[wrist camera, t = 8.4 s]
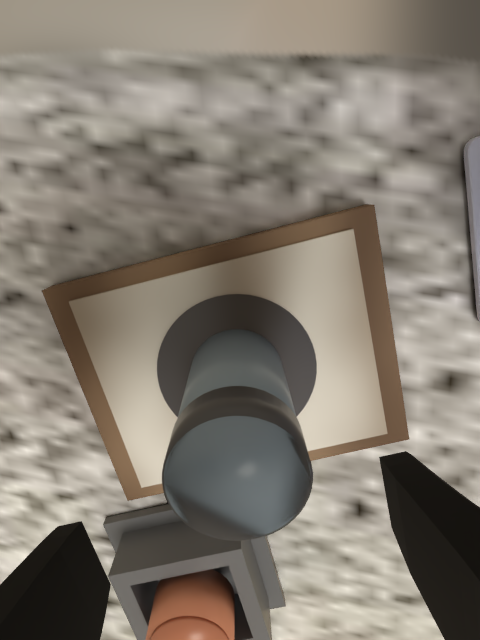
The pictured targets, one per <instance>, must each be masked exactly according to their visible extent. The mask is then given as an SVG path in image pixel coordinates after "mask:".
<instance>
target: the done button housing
mask: <svg viewBox="0 0 480 640" xmlns="http://www.w3.org/2000/svg"><path fill="white" fill-rule="evenodd" d="M103 525H104V528H105V530H106V532H107V535H108V537H109V539H110V541H111V544H112V546H113V548H114V550H115V553H116V555H115V558H114V561H113V564H112V567H111V570H110V573H109V575H108V577H109V579H110V581H111V584H112V586H113V588H114V590H115V592H116V595H117V597H118V599H119V601H120V603H121V605H122V608H123V610H124V612H125V614H126V616H127V619H128V621H129V623H130V625H131V627H132V630H133V632H134V634H135V636H136V638H137V640H146V635H147V630H148V625H149V620H150V615H151V611H152V606H153V601H154V596H155V591H156V588H157V585H158V583H159V582H160V580H161V579H165V578H170V577H175V576H180V575H185V574H190V573H195V572H200V571H205V570H209V569H213V570H215V571H217V572H219V573H220V574H222V575H223V576H224V577H226V578H227V579H228V581H229V582H230V583H231V585H232V587H233V589H234V594H235V631H234V640H272V634H271V622H270V609H274V608H279V607H284V606H286V605H285V597H284V594H283V590H282V587H281V584H280V580H279V577H278V573H277V570H276V567H275V563H274V560H273V556H272V553H271V550H270V546H269V543H268V540H267V536H264V537H261V538H257V539H252V540H243V541H231V540H222V539H217V538H213V537H209V536H207V535H204V534H202V533H200V532H198V531H196V530H194V529H192V528H191V527H189V526H188V525H186V524H185V523H184V522H183V521H182V520H181V519H179V518H178V516H177V515H176V514H175V513H174V512H173V510H172V509H171V507H170V506H169V504H166V505H161V506H156V507H152V508H147V509H142V510H138V511H133V512H129V513H124V514H119V515H115V516H110V517H106V519H105V521H104V524H103Z"/></svg>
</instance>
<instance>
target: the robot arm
mask: <svg viewBox="0 0 480 640" xmlns="http://www.w3.org/2000/svg"><path fill="white" fill-rule="evenodd" d="M464 164H465V176H466V188H467V200H468V212H469V224H470V236H471V248H472V260H473V272H474V284H475V297H476V309H477V318H478V320H479V321H480V136H477V137H474V138H472V139H470V140H469V141H468V142H467V143H466V145H465V148H464ZM379 458H380V464H381V469H382V475H383V481H384V486H385V492H386V497H387V503H388V509H389V514H390V520H391V526H392V529H393V532H394V534H395V537H396V539H397V542H398V544H399V547H400V549H401V552H402V554H403V557H404V559H405V561H406V564H407V566H408V569H409V571H410V574H411V576H412V578H413V579H414V581H415V583H416V585H417V587H418V589H419V591H420V593H421V595H422V597H423V599H424V601H425V603H426V605H427V606H428V608H429V610H430V612H431V614H432V616H433V618H434V620H435V622H436V624H437V626H438V628H439V629H440V631H441V633H442V635H443V637H444V639H445V640H480V507H478V506H477V505H475V504H474V503H473V502H471V501H470V500H468V499H467V498H466V497H464V496H463V495H462V494H460V493H459V492H458V491H456V490H455V489H454V488H453V487H451V486H450V485H449V484H447V483H446V482H445V481H443V480H442V479H441V478H440V477H438V476H437V475H436V474H435V473H433V472H432V471H431V470H430V469H428V468H427V467H426V466H425V465H423V464H422V463H421V462H420V461H418V460H417V459H416V458H415V457H414V456H412V455H411V454H409V453H408V452H401V453H396V454H392V455H387V456H382V457H379ZM110 585H111V584H110V582H109V580H108V578H107V576H106V574H105V571H104V569H103V567H102V565H101V563H100V561H99V558H98V556H97V554H96V552H95V550H94V547H93V545H92V543H91V541H90V539H89V537H88V534H87V532H86V530H85V528H84V526H83V523H82V521H81V522H76V523H72V524H67V525H63V526H58V527H57V528H56V529H55V530H54V531H52V532H51V533H50V534H49V535H48V536H47V537H46V538H45V539H44V540H43V541H42V542H41V543H40V544H39V545H38V546H37V547H36V548H35V549H34V550H33V551H32V552H31V553H30V554H29V555H28V556H27V557H26V559H25V560H24V561H23V562H22V563H21V564H20V565H19V566H18V567H17V568H16V569H15V570H14V571H13V572H12V573H11V574H10V575H9V576H8V577H7V578H6V579H5V580H4V581H3V583H2V584H1V585H0V640H100V637H101V633H102V628H103V623H104V618H105V614H106V608H107V602H108V597H109V591H110Z"/></svg>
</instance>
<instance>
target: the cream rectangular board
mask: <svg viewBox="0 0 480 640" xmlns="http://www.w3.org/2000/svg"><path fill="white" fill-rule="evenodd" d="M42 292H43V295H44V297H45V300H46V302H47V304H48V307H49V309H50V312H51V314H52V317H53V319H54V322H55V324H56V327H57V329H58V331H59V334H60V336H61V339H62V341H63V344H64V346H65V349H66V351H67V353H68V356H69V358H70V361H71V363H72V366H73V368H74V371H75V373H76V375H77V378H78V380H79V383H80V385H81V388H82V390H83V393H84V395H85V397H86V400H87V402H88V405H89V407H90V410H91V412H92V415H93V417H94V419H95V422H96V424H97V427H98V429H99V432H100V434H101V437H102V439H103V441H104V444H105V446H106V449H107V451H108V454H109V456H110V459H111V461H112V463H113V466H114V468H115V471H116V473H117V476H118V478H119V481H120V483H121V485H122V488H123V490H124V493H125V495H126V498H127V500H128V501H129V500H133V499H138V498H142V497H147V496H152V495H156V494H161V493H164V491H163V486H162V469H163V464H164V460H165V457H166V453H167V449H168V445H169V442H170V438H171V434H172V431H173V428H174V425H175V422H176V421H177V418H178V414H179V411H180V407H181V403H182V399H183V395H184V392H185V388H186V384H187V380H188V376H189V373H190V369H191V365H192V361H193V358H194V356H195V354H196V352H197V350H198V349H199V347H200V346H201V345H202V344H203V343H204V342H205V341H206V340H207V339H208V338H210V337H211V336H213V335H215V334H217V333H219V332H223V331H226V330H233V329H241V330H248V331H251V332H254V333H257V334H259V335H261V336H262V337H264V338H266V339H267V340H268V341H269V342H270V343H271V344H272V345H273V346H274V347H275V349H276V350H277V352H278V354H279V356H280V359H281V362H282V366H283V369H284V373H285V377H286V380H287V384H288V388H289V391H290V395H291V399H292V402H293V406H294V410H295V413H296V417H297V419H298V421H299V423H300V426H301V429H302V433H303V436H304V440H305V443H306V447H307V451H308V454H309V458H310V461H312V460H316V459H321V458H326V457H330V456H335V455H339V454H344V453H348V452H353V451H358V450H362V449H367V448H371V447H376V446H380V445H385V444H390V443H394V442H399V441H403V440H408V439H409V435H408V428H407V422H406V415H405V408H404V401H403V395H402V388H401V381H400V375H399V368H398V361H397V355H396V348H395V341H394V334H393V328H392V321H391V314H390V308H389V301H388V294H387V287H386V281H385V274H384V267H383V261H382V254H381V247H380V241H379V234H378V227H377V220H376V214H375V207H374V205H369V204H366V205H362V206H358V207H354V208H350V209H346V210H343V211H339V212H335V213H331V214H327V215H323V216H319V217H316V218H312V219H308V220H304V221H300V222H296V223H292V224H288V225H285V226H281V227H277V228H273V229H269V230H265V231H261V232H258V233H254V234H250V235H246V236H242V237H238V238H234V239H231V240H227V241H223V242H219V243H215V244H211V245H207V246H203V247H200V248H196V249H192V250H188V251H184V252H180V253H176V254H173V255H169V256H165V257H161V258H157V259H153V260H149V261H146V262H142V263H138V264H134V265H130V266H126V267H122V268H118V269H115V270H111V271H107V272H103V273H99V274H95V275H91V276H88V277H84V278H80V279H76V280H72V281H68V282H64V283H60V284H57V285H53V286H51V287H48V288H46V289H44V290H42Z"/></svg>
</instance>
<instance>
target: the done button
mask: <svg viewBox="0 0 480 640" xmlns="http://www.w3.org/2000/svg"><path fill="white" fill-rule="evenodd" d="M234 631H235V594H234V589H233V587H232V585H231V583H230V582H229V581H228V579H227V578H226V577H224V576H223V575H222V574H220V573H219V572H217V571H215V570H213V569H209V570H205V571H200V572H195V573H190V574H185V575H180V576H175V577H170V578H165V579H161V580H160V582H159V583H158V585H157V588H156V591H155V596H154V601H153V606H152V611H151V615H150V620H149V625H148V630H147V635H146V640H234Z"/></svg>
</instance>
